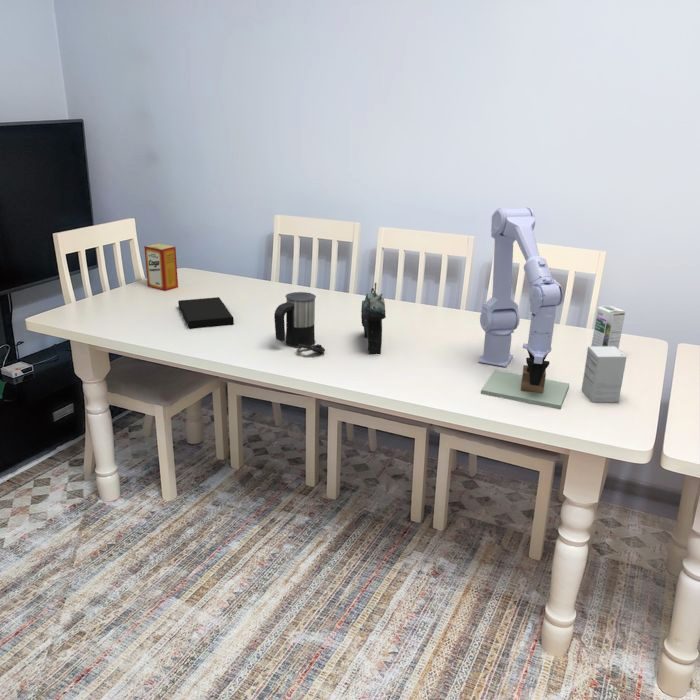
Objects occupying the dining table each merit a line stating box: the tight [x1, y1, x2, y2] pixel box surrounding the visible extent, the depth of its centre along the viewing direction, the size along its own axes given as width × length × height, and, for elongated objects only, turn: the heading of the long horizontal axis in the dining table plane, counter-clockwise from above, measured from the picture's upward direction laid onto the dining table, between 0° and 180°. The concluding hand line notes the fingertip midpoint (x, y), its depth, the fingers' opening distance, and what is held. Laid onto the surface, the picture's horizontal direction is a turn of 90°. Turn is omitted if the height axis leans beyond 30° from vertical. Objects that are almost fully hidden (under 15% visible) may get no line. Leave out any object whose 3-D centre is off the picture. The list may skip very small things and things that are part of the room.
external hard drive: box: [177, 296, 235, 330], centre depth 230 cm, size 14×23×3 cm, turn 21°
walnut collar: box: [521, 364, 547, 394], centre depth 178 cm, size 6×6×5 cm
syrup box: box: [591, 305, 626, 350], centre depth 203 cm, size 6×6×14 cm
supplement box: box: [581, 345, 627, 403], centre depth 175 cm, size 7×7×13 cm
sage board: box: [480, 369, 570, 410], centre depth 180 cm, size 15×20×1 cm
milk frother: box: [273, 291, 326, 354], centre depth 203 cm, size 14×16×15 cm
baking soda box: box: [144, 242, 179, 292], centre depth 258 cm, size 10×6×16 cm
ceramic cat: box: [360, 282, 387, 355], centre depth 205 cm, size 20×6×20 cm, turn 4°
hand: (534, 379), depth 178 cm, fingers open, 6 cm apart
